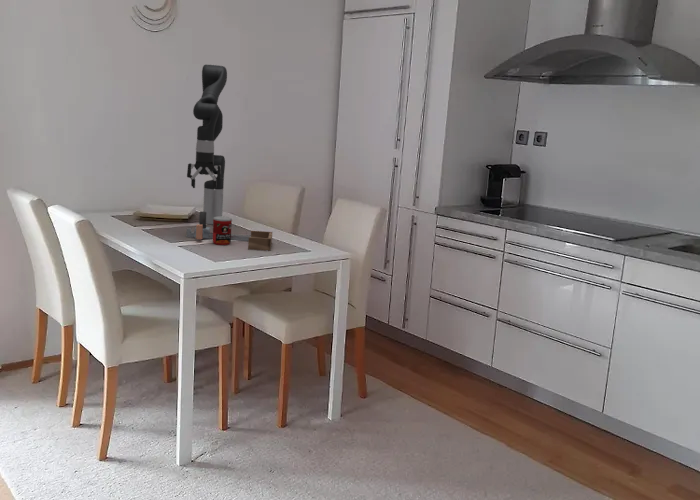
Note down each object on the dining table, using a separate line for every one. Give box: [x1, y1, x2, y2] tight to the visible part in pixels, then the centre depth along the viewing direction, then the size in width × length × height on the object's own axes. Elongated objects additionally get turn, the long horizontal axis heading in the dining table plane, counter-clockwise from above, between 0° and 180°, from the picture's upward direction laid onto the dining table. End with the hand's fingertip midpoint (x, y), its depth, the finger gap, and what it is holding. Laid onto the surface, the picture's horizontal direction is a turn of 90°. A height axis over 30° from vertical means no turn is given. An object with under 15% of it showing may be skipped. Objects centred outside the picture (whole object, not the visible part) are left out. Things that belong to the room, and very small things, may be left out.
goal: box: [247, 230, 273, 252], centre depth 284 cm, size 15×9×5 cm, turn 4°
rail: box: [185, 227, 251, 242], centre depth 292 cm, size 3×30×4 cm, turn 94°
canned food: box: [212, 215, 233, 246], centre depth 283 cm, size 8×8×11 cm
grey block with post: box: [193, 211, 211, 240], centre depth 287 cm, size 13×6×11 cm, turn 4°
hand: (203, 188), depth 287 cm, fingers open, 8 cm apart
